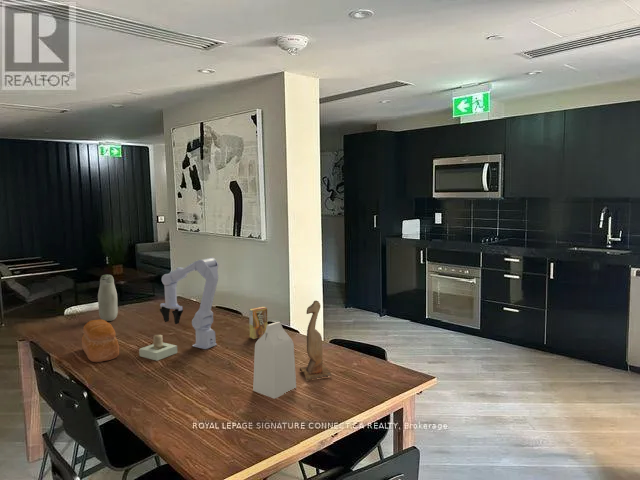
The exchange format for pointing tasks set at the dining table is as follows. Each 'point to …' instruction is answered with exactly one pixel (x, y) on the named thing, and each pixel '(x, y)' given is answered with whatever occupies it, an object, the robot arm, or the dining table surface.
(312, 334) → the bird sculpture
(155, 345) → the peg
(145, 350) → the socket block
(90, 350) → the bread
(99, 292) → the grey bottle
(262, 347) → the milk
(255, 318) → the candy box
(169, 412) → the dining table surface
